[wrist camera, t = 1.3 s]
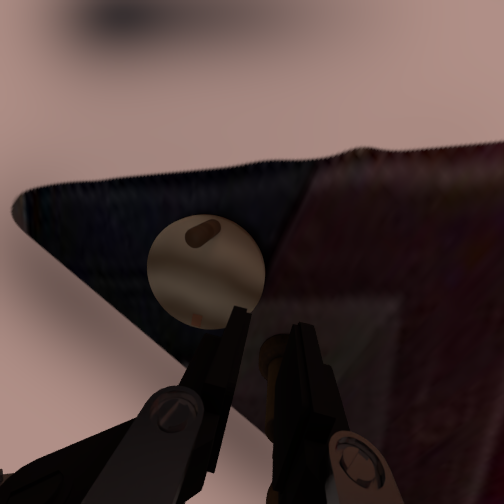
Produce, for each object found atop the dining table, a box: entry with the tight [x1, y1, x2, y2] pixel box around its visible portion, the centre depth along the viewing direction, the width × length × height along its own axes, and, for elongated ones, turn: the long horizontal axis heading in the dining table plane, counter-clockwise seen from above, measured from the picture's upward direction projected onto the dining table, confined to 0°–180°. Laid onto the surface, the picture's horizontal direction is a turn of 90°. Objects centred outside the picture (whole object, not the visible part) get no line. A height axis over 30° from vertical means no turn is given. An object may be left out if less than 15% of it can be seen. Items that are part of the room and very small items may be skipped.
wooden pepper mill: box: [259, 335, 289, 504], centre depth 25 cm, size 7×6×18 cm
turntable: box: [147, 214, 265, 329], centre depth 26 cm, size 14×14×8 cm
